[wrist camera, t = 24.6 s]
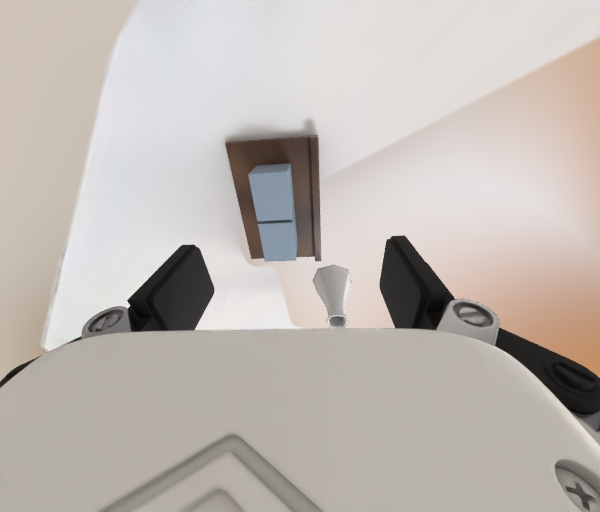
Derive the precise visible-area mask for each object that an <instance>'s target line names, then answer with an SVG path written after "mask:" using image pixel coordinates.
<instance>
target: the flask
mask: <svg viewBox="0 0 600 512" xmlns="http://www.w3.org/2000/svg"><path fill="white" fill-rule="evenodd" d="M313 282H314V285H315V288H316V290H317V292H318V294H319V296H320V297H321V299H322V300H323V302H324V304H325V306H326V308H327V311H328V318H327V324H328V326H329V327H330V328H345V326H346V325H347V323H348V320H347V317H346V315H345V302H346V298H347V295H348V291H349V288H350V285H351V282H352V281H351V277H350V273H349V270H348V269H345V268H342V267H339V266H336V265H331V266H327V267H323V268H319V269H318V270H317V272H316V274H315V276H314V279H313Z"/></svg>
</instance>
